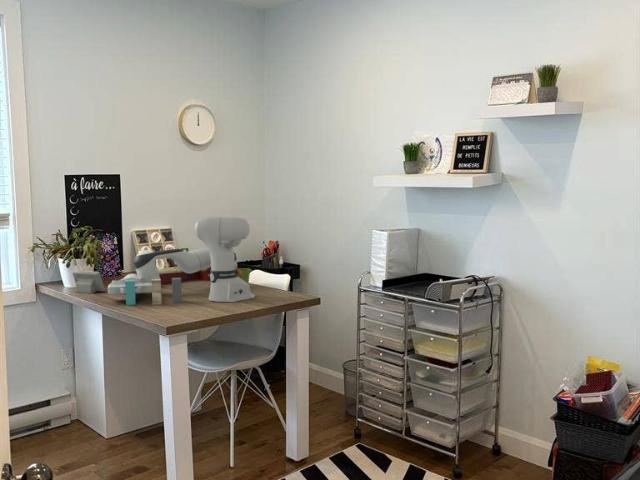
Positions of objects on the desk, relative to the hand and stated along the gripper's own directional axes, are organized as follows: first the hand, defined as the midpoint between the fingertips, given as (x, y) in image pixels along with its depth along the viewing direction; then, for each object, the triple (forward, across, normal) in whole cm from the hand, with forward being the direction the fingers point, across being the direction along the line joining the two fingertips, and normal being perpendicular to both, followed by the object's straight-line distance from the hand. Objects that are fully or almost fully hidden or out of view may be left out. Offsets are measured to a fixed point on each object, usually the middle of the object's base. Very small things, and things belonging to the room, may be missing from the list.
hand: (130, 291), depth 281 cm
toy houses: (-55, -23, -6) cm, 60 cm away
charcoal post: (-1, -21, -6) cm, 21 cm away
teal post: (-1, 0, -6) cm, 6 cm away
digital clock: (-40, +21, -6) cm, 45 cm away
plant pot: (-33, -56, -6) cm, 65 cm away
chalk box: (-89, -29, -6) cm, 94 cm away
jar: (-78, -7, -6) cm, 79 cm away
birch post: (+1, -12, -6) cm, 13 cm away
